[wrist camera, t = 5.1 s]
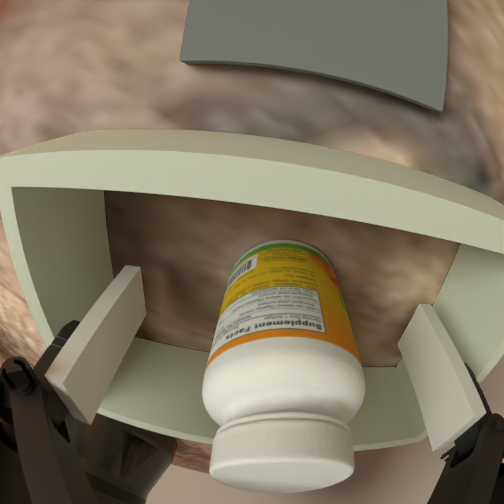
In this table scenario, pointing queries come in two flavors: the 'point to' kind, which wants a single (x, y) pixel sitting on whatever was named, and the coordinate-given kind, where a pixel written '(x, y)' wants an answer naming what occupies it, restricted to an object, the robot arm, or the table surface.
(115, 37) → the table surface
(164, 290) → the table surface
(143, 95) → the table surface
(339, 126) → the table surface
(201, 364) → the open box
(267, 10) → the slate mat
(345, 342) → the supplement bottle
